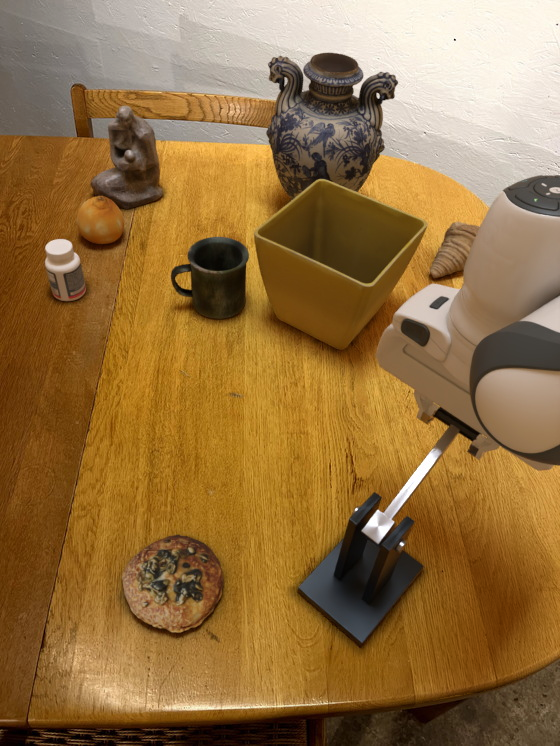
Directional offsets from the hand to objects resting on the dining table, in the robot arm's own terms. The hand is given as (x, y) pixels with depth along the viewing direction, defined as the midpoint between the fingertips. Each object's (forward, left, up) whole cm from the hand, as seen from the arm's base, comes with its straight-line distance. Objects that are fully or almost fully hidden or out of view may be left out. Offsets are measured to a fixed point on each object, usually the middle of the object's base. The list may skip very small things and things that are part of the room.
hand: (450, 435), depth 69 cm
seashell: (+23, -48, -17) cm, 56 cm away
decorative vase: (+51, -42, -17) cm, 68 cm away
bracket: (0, +12, -17) cm, 20 cm away
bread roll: (+15, +27, -17) cm, 35 cm away
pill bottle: (+64, +5, -17) cm, 66 cm away
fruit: (+72, -8, -17) cm, 74 cm away
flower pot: (+31, -21, -17) cm, 41 cm away
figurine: (+79, -20, -17) cm, 83 cm away
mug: (+46, -9, -17) cm, 50 cm away
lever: (0, +5, -3) cm, 6 cm away
